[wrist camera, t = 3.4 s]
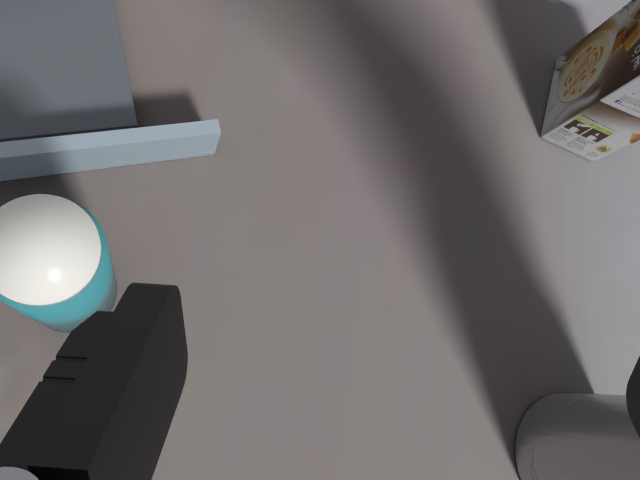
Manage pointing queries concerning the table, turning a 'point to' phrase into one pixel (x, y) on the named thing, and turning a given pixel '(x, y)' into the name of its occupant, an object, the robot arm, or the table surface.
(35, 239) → the jar
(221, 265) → the table surface
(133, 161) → the wall
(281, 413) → the table surface
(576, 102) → the coffee box
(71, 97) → the mat
